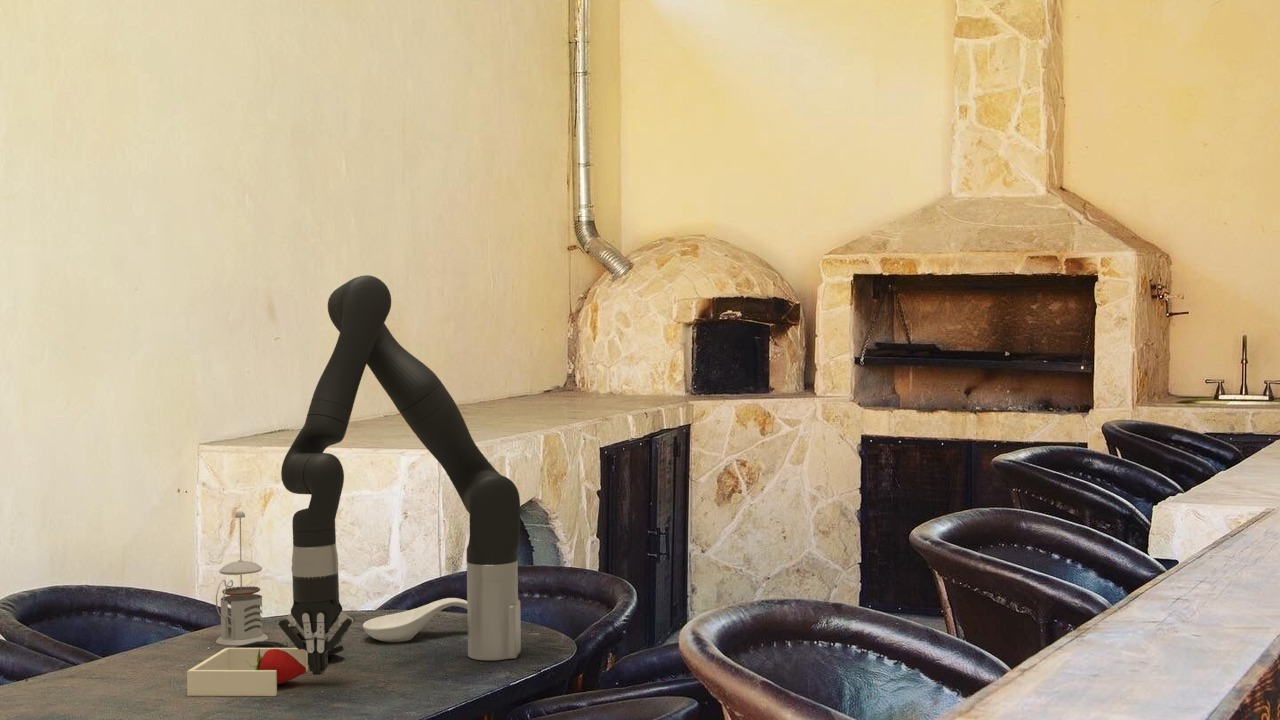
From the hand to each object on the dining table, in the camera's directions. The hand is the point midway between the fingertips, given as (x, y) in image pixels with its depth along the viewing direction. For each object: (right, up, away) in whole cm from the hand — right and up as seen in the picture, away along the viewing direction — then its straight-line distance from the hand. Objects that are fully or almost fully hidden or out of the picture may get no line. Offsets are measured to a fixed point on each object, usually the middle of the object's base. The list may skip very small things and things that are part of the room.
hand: (318, 673), depth 219 cm
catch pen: (-12, -2, +1) cm, 12 cm away
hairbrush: (-11, -2, +21) cm, 24 cm away
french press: (-24, -2, +34) cm, 41 cm away
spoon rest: (+12, -2, +35) cm, 37 cm away
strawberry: (-2, +1, -1) cm, 2 cm away
